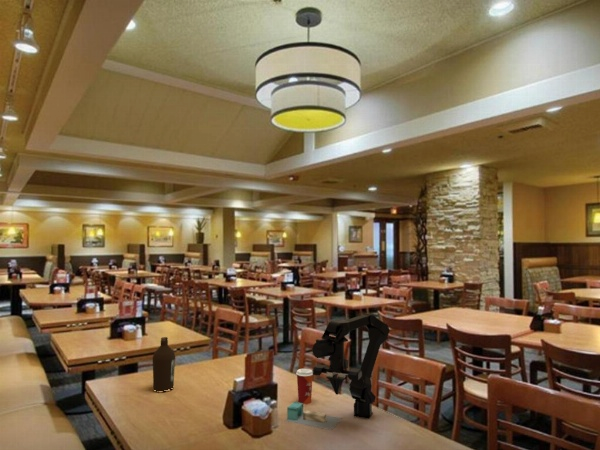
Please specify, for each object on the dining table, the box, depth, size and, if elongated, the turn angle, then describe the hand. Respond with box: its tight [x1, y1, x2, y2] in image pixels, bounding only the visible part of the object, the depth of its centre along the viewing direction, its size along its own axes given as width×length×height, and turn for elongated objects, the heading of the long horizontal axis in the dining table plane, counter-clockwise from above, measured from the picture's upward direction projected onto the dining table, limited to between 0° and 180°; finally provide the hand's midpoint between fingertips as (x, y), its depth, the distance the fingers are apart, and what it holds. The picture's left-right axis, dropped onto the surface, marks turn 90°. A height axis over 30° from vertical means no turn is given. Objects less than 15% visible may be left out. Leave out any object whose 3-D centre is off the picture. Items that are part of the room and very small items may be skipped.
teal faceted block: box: [286, 401, 304, 420], centre depth 171 cm, size 4×7×4 cm, turn 156°
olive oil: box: [152, 336, 176, 391], centre depth 206 cm, size 11×11×25 cm
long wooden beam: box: [303, 409, 327, 423], centre depth 168 cm, size 9×3×3 cm, turn 66°
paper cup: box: [295, 368, 314, 405], centre depth 188 cm, size 8×8×14 cm
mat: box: [284, 414, 343, 431], centre depth 168 cm, size 20×12×1 cm, turn 66°
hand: (337, 394), depth 165 cm, fingers closed
